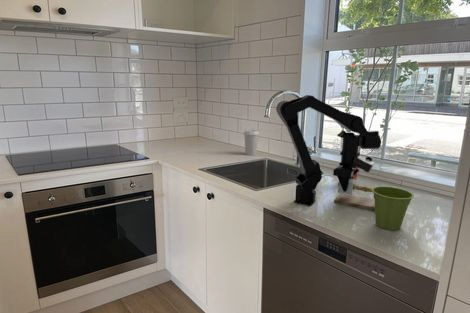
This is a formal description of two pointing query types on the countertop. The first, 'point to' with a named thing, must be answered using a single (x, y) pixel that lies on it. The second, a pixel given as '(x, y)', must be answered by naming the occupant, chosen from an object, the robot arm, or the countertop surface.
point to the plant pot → (391, 206)
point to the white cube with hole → (350, 187)
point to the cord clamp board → (356, 199)
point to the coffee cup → (251, 141)
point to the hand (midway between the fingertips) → (346, 189)
